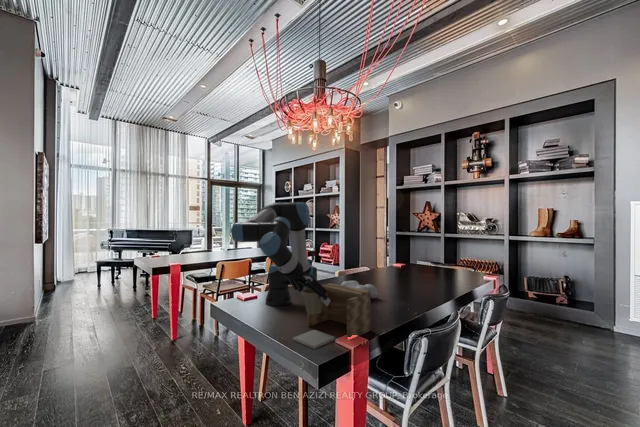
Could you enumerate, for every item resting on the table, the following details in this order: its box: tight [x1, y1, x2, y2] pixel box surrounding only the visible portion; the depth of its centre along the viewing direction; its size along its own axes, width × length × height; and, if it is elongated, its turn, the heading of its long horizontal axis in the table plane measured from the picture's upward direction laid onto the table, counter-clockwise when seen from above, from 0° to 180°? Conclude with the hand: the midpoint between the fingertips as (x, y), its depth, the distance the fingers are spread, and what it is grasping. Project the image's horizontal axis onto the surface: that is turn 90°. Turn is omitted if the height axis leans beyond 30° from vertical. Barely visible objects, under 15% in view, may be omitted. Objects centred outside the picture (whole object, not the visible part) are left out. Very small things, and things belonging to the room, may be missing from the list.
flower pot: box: [302, 289, 323, 314], centre depth 116 cm, size 9×9×9 cm
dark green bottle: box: [303, 258, 318, 289], centre depth 198 cm, size 10×8×22 cm
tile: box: [292, 329, 336, 350], centre depth 115 cm, size 12×12×1 cm
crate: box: [306, 282, 372, 338], centre depth 128 cm, size 15×24×17 cm, turn 46°
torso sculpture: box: [340, 280, 379, 300], centre depth 186 cm, size 16×11×30 cm
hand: (319, 300), depth 118 cm, fingers closed on flower pot, 9 cm apart
